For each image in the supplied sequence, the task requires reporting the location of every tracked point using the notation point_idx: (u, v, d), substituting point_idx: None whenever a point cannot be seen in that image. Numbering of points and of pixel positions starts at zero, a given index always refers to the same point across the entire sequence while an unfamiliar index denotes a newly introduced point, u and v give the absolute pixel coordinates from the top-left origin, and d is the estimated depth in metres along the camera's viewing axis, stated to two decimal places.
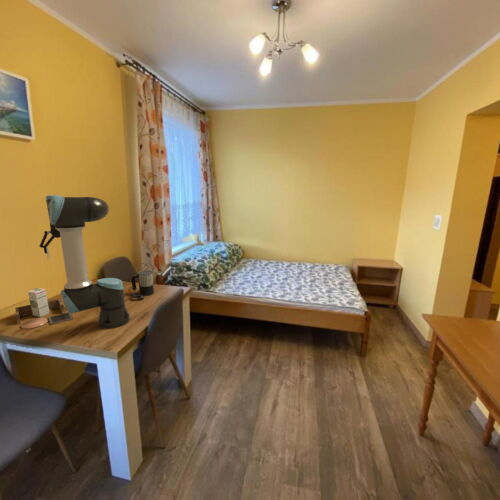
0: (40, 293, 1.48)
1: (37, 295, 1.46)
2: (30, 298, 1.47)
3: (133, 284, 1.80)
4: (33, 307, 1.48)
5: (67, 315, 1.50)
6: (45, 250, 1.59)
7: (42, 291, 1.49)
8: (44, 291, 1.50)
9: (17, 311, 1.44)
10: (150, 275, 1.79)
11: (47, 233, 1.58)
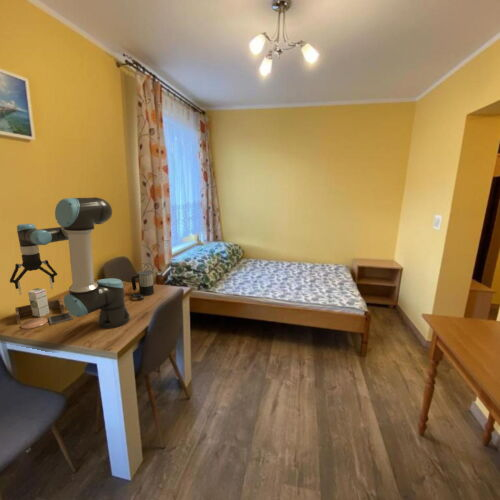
0: (40, 293, 1.48)
1: (37, 295, 1.46)
2: (30, 298, 1.47)
3: (133, 284, 1.80)
4: (33, 307, 1.48)
5: (67, 315, 1.50)
6: (16, 285, 1.42)
7: (42, 291, 1.49)
8: (44, 291, 1.50)
9: (17, 311, 1.44)
10: (150, 275, 1.79)
11: (18, 266, 1.41)
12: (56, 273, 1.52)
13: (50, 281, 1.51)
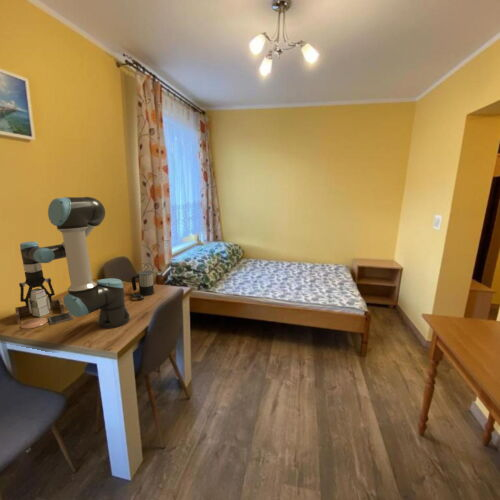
0: (40, 293, 1.48)
1: (37, 295, 1.46)
2: (30, 298, 1.47)
3: (133, 284, 1.79)
4: (33, 307, 1.48)
5: (67, 315, 1.50)
6: (27, 304, 1.46)
7: (42, 291, 1.49)
8: (44, 291, 1.50)
9: (17, 311, 1.44)
10: (150, 275, 1.79)
11: (23, 285, 1.43)
12: (54, 293, 1.53)
13: None
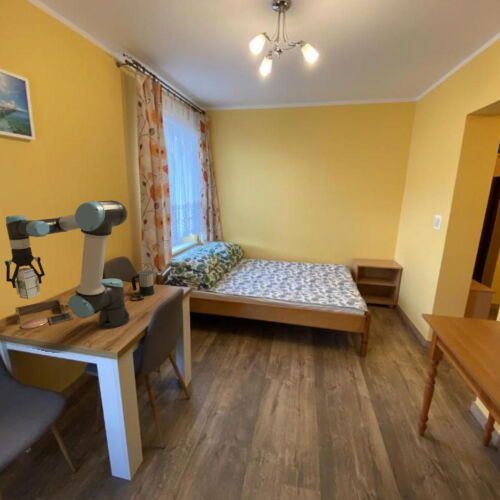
0: (28, 272, 1.34)
1: (25, 274, 1.33)
2: (17, 278, 1.34)
3: (133, 284, 1.79)
4: (21, 288, 1.35)
5: (67, 315, 1.50)
6: (13, 284, 1.33)
7: (31, 270, 1.35)
8: (33, 271, 1.36)
9: (17, 311, 1.44)
10: (150, 275, 1.78)
11: (9, 263, 1.30)
12: (44, 273, 1.40)
13: (37, 282, 1.38)
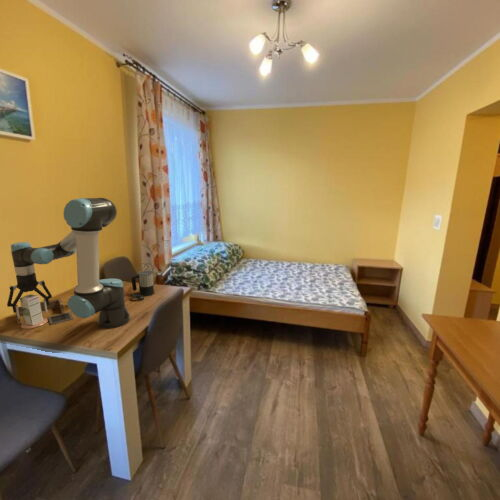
0: (33, 300, 1.37)
1: (29, 302, 1.36)
2: (22, 305, 1.37)
3: (133, 284, 1.79)
4: (25, 315, 1.38)
5: (67, 315, 1.50)
6: (14, 309, 1.34)
7: (35, 298, 1.38)
8: (37, 298, 1.39)
9: None
10: (150, 275, 1.78)
11: (13, 289, 1.33)
12: (51, 295, 1.43)
13: (44, 304, 1.42)
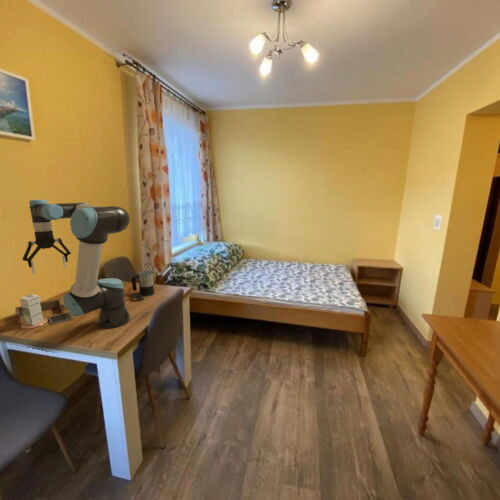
0: (33, 300, 1.37)
1: (29, 302, 1.36)
2: (22, 305, 1.37)
3: (133, 284, 1.79)
4: (25, 315, 1.38)
5: (67, 315, 1.50)
6: (29, 264, 1.37)
7: (35, 298, 1.38)
8: (37, 298, 1.39)
9: (17, 311, 1.44)
10: (150, 275, 1.78)
11: (31, 244, 1.36)
12: (69, 252, 1.48)
13: (64, 260, 1.46)
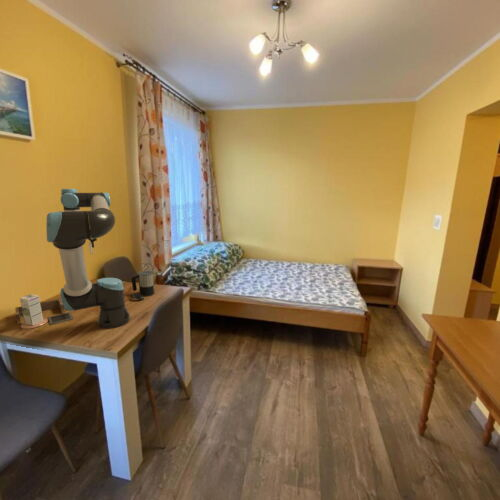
0: (33, 300, 1.37)
1: (29, 302, 1.36)
2: (22, 305, 1.37)
3: (133, 284, 1.79)
4: (25, 315, 1.38)
5: (67, 315, 1.50)
6: None
7: (35, 298, 1.38)
8: (37, 298, 1.39)
9: (17, 311, 1.44)
10: (150, 275, 1.78)
11: None
12: None
13: (90, 246, 1.57)
